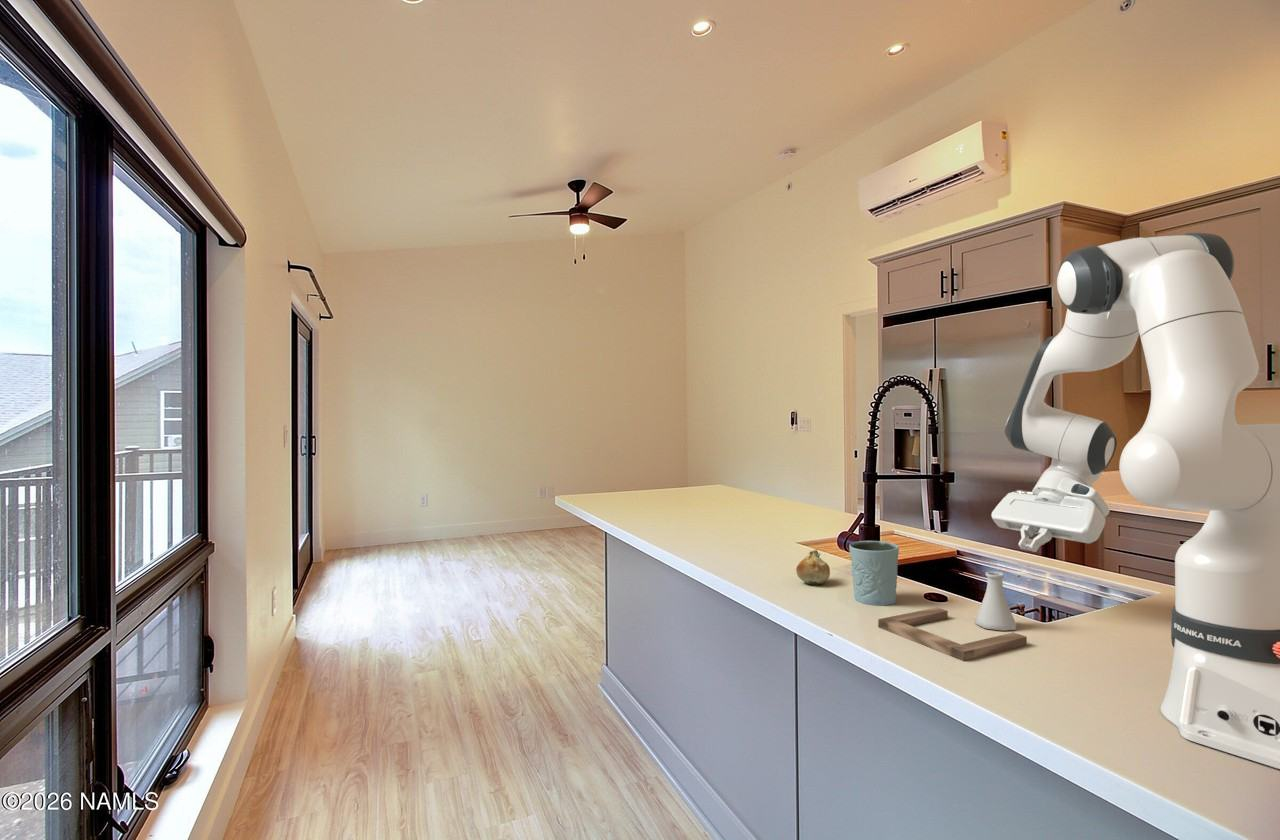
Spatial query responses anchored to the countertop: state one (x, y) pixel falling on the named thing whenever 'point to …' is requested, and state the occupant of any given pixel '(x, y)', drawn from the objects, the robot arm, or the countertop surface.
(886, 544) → the blue embossed cup
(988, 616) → the flask
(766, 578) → the countertop surface
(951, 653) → the walnut bay
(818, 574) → the onion
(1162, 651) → the countertop surface
